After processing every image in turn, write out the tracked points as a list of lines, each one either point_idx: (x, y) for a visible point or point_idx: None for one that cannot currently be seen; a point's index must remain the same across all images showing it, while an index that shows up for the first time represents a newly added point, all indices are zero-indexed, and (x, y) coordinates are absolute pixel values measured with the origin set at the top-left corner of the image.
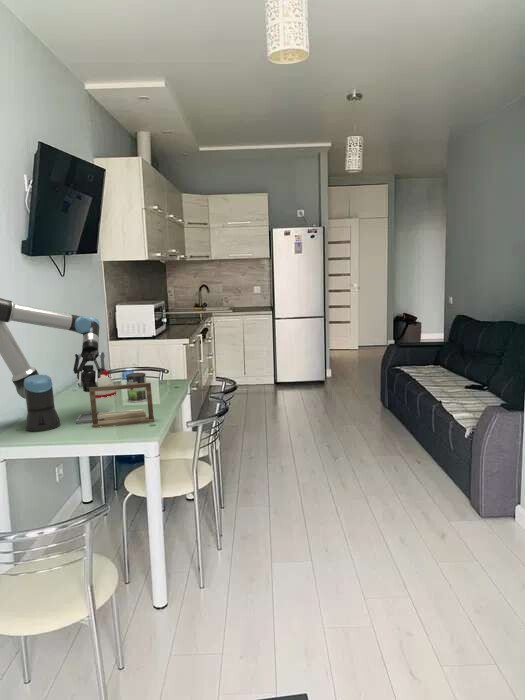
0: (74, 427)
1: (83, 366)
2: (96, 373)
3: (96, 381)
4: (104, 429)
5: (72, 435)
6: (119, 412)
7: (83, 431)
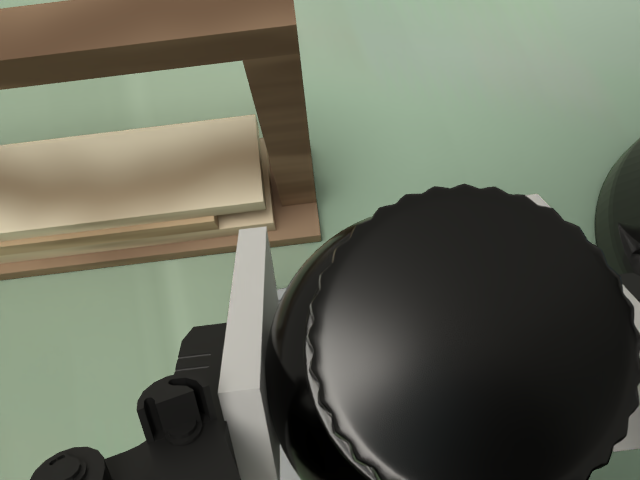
0: (453, 181)
1: (588, 263)
2: (244, 327)
3: (247, 230)
4: (209, 92)
5: (395, 4)
6: (80, 178)
7: (348, 73)
